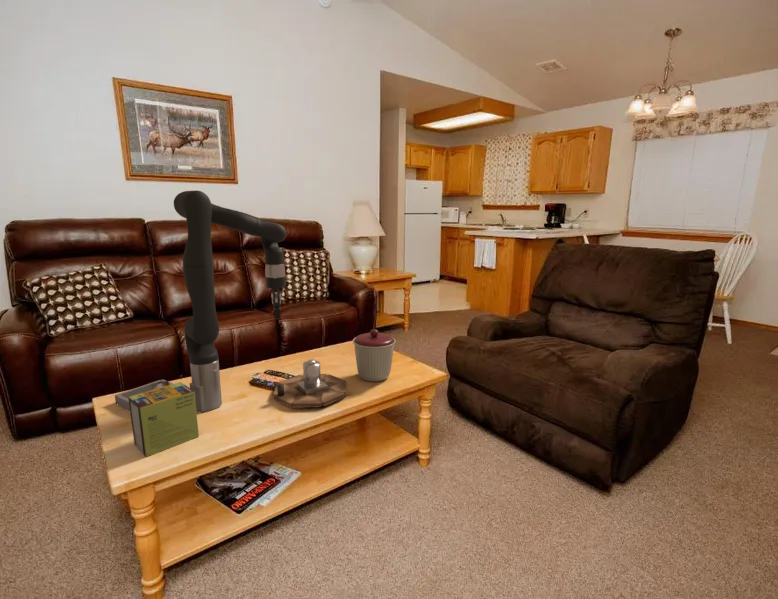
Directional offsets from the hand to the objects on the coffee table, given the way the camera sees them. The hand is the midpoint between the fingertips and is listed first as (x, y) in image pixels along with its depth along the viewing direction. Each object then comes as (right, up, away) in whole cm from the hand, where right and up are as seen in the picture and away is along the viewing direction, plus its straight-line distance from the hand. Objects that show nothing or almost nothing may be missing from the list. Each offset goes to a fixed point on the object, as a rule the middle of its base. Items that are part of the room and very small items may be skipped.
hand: (277, 317), depth 166 cm
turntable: (+15, -28, -6) cm, 32 cm away
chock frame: (-43, -30, -13) cm, 54 cm away
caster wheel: (-41, -31, -16) cm, 54 cm away
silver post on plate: (+15, -27, -7) cm, 31 cm away
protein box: (-23, -36, -39) cm, 58 cm away
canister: (+38, -26, +11) cm, 48 cm away
